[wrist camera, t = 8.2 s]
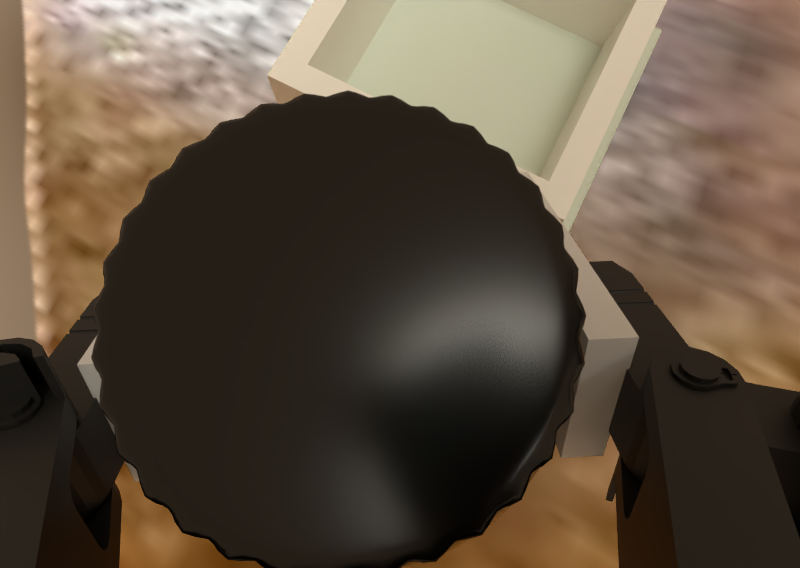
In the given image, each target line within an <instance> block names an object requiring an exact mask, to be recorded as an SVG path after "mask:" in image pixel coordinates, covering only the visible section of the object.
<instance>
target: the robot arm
mask: <svg viewBox="0 0 800 568" xmlns="http://www.w3.org/2000/svg"><path fill="white" fill-rule="evenodd" d="M519 173H520V174H522V175H524V176H525V177H527V178H528V179H530V180H531V181H533V182H534V180H533V179H532V177H531V176H530V174H529V173H528V172H519ZM534 183H535V182H534ZM535 184H536V183H535ZM541 194H542V192H541ZM542 197H543V203H544V206H545V208H546V209H547V210H548V211H549V212H550V213H551V214H552V215H553V216H554V217H555V218H556V219H557V220H558V221H559V222H560V223H561V224H562V226H563V232H564V247H565V249H566V251H567V252H568V253H569V255H570V256H571V257H572V259H573V260H574V262H575V263H576V265H577V267H578V268H579V272H578V284H577V291H576V293H577V295H578V297H579V298H580V300H581V302H582V305H583V307H584V310H585V313H586V319H585V323H584V327H583V329H582V330H581V334H580V338H579V339H580V343H581V346H582V350H583V355H584V361H585V365H584V367H583V369H582V371H581V373H580V375H579V376H578V378H577V380H576V381H575V383H574V384H573V393H574V412H573V413H572V415H571V416H570V417H569V418H568V420H567V421H566V422H565V423H564V424H562V425H561V426H560V428H559V429H558V430H557V434H556V442H555V443H556V446H557V448H558V451H559V454H560V456H561V458H569V457H587V456H603V454H604V451H605V448H606V445H607V441H608V438H609V435H611V437H612V439H613V441H614V443H615V445H616V447H617V449H618V451H619V453H620V455H619V458H618V461H617V464H616V467H615V470H614V473H613V476H612V479H611V482H610V485H609V488H608V492H607V497H606V500H608V501H613V499H614V496H615V493H616V512H617V533H618V555H619V568H800V392H797V391H791V390H785V389H780V388H774V387H768V386H762V385H757V384H752V383H748V382H745V381H744V379H743V378H742V376H741V375H740V373H739V371H738V370H736V369H735V368H734V367H733V366H731V365H730V364H729V363H728V362H727V361H725V360H724V359H722V358H720V357H717V356H715V355H713V354H711V353H709V352H707V351H703V350H699V349H695V348H692V347H689V346H688V345H687V344H686V342H685V341H684V340H683V338H682V337H681V336H680V335H679V333H678V332H677V331H676V329H675V328H674V327H673V326H672V324H671V323H670V322H669V320H668V319H667V318H666V317H665V315H664V314H663V313H662V311H661V310H660V309H659V308H658V306H657V305H654V301H653V300H652V299H651V297H650V296H649V295H648V293H647V292H644V288H643V287H642V286H641V284H640V283H639V282H638V281H637V279H636V278H635V277H634V276H633V274H632V273H630V272H629V271H627V270H626V269H624V268H622V267H621V266H619V265H618V264H616V263H615V262H613V261H599V262H588V260H587V259H586V258H585V256H584V255H583V253H582V252H581V250H580V249H579V247H578V246H577V244H576V243H575V241H574V240H573V238H572V237H571V235H570V234H569V232H568V231H567V229H566V228H565V226H564V225H563V223H562V222H561V220H560V219H559V217H558V216H557V214H556V213H555V211H554V210H553V208H552V207H551V205H550V204H549V203H548V201H547V200H546V198H545V197H544V195H543V194H542ZM97 298H98V297H96V298H95V299H93V300H92V302H91V303H90V304H89V306H88V307H87V308H86V310H85V311H84V312H83V314H82V315H81V316H80V320H77V321H76V323H75V324H74V325H73V327H72V328H71V329H70V330H69V331H70V334H66V336H65V337H64V338H63V340H62V341H61V342H60V344H59V345H58V346H57V347H56V349H55V350H54V351H53V353H52V354H51V355H50V357H49V358H48V356H47V354H46V353H45V351H44V349H43V347H42V346H41V345H40V344H39V343H37V342H36V341H34V340H31V339H24V338H12V339H5V340H0V568H119V556H120V533H121V509H122V500H121V496H120V491H119V489H118V487H117V485H116V484H115V480H116V478H117V476H118V473H119V471H120V469H121V467H122V465H123V463H124V461H125V460H124V459H122V458H121V457H120V456H119V455H118V454H117V448H116V442H115V429H114V425H113V424H112V423H111V422H110V421H109V419H108V418H107V417H106V416H105V414H104V413H103V411H102V410H101V408H100V407H99V400H100V387H101V377H100V375H99V373H98V371H97V370H96V369H95V366H94V364H93V361H92V359H91V356H92V351H93V347H94V344H95V340H96V337H97V334H98V329H97V324H96V322H95V319H94V314H93V307H94V305H95V303H96V300H97ZM125 462H126V461H125ZM126 464H127V466H128V468H129V470H130V472H131V474H132V476H133V478H134V480H135V481H139V477H138V473H137V470H136V469H135V468H134V467H133V466H132V465H130V464H129V463H127V462H126Z"/></svg>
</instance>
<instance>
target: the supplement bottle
mask: <svg viewBox="0 0 800 568" xmlns="http://www.w3.org/2000/svg"><path fill="white" fill-rule="evenodd" d="M578 272H579V268H578V267H577V265H576V263H575V262H574V260H573V259H572V257H571V256H570V255H569V253H568V252H567V251H566V249H565V247H564V232H563V226H562V224H561V223H560V222H559V221H558V220H557V219H556V218H555V217H554V216H553V215H552V214H551V213H550V212H549V211H548V210H547V209H546V208H545V206H544V203H543V197H542V194H541V191H540V188H539V186H538V185H536V184H535V183H534V182H533V181H531V180H530V179H528V178H527V177H525V176H524V175H522V174H520V173H519V171H518V170H517V168H516V165H515V162H514V160H513V159H512V157H511V155H510V154H509V153H508V152H506V151H504V150H503V149H501V148H498V147H496V146H493V145H491V144H488V143H487V142H486V140H485V139H484V138H483V136H482V135H481V134H480V132H479V131H478V130H477V129H476V128H475V127H474V126H471V125H468V124H464V123H456V122H453V121H450V120H449V119H448V118H447V117H446V116H445V115H444V114H443V113H442V112H440V111H439V110H437V109H436V108H435V107H429V106H411V105H409V104H407V103H406V102H404V101H403V100H401V99H399V98H397V97H395V96H393V95H385V96H378V97H370V98H369V97H366V96H364V95H361V94H359V93H356V92H352V91H349V90H348V91H344V92H340V93H336V94H333V95H330V96H327V97H324V96H320V95H314V94H305V93H304V94H302V95H300V96H297V97H295V98H293V99H292V100H291V101H288V102H286V103H284V104H273V103H272V104H261V105H259V106H258V107H256V108H255V109H253V110H252V111H251V112H250V113H248V114H247V115H246V116H245V117H243V118H240V119H234V120H229V121H225V122H221V123H219V124H218V125H217V126H216V127H215V128H214V129H213V130H212V132H211V133H210V135H209V136H208V137H207V138H206V139H205V140H202V141H199V142H196V143H194V144H191V145H189V146H187V147H185V148H183V149H182V150H181V151H180V153H179V154H178V156H177V157H176V160H175V162H174V163H173V165H172V166H171V168H169V169H168V170H166V171H164V172H162V173H161V174H159V175H158V176H156V177H155V178H153V179H152V180H150V182H149V184H148V186H147V188H146V191H145V195H144V198H143V200H142V202H141V203H140V204H139V205H138V206H137V207H135V208H134V209H133V210H132V211H131V212H130V213H129V214H128V215H127V216H126V217H125V218H124V219H123V221H122V226H121V230H120V238H119V243H118V244H117V245H116V246H115V247H114V249H113V250H112V251H111V252H110V254H109V255H108V257H107V258H106V259H105V261H104V265H103V275H104V287H103V289H102V291H101V293H100V294H99V296H98V298H97V300H96V303H95V305H94V307H93V314H94V319H95V322H96V324H97V329H98V334H97V337H96V340H95V344H94V347H93V351H92V356H91V359H92V361H93V364H94V366H95V369H96V370H97V371H98V373H99V375H100V377H101V387H100V400H99V407H100V408H101V410H102V411H103V413H104V414H105V416H106V417H107V418H108V419H109V421H110V422H111V423H112V424H113V425H114V429H115V442H116V448H117V454H118V455H119V456H120V457H121V458H122V459H124V460H125V461H126V462H127V463H129V464H130V465H132V466H133V467H134V468H135V469H136V470H137V473H138V477H139V481H140V485H141V487H142V490H143V493H144V495H145V497H147V498H148V499H150V500H151V501H153V502H155V503H157V504H160V505H163V506H165V507H166V508H168V509H169V511H170V512H171V514H172V516H173V518H174V521H175V523H176V524H177V526H178V527H179V529H180V530H181V531H182V533H185V534H188V535H191V536H194V537H199V538H205V539H209V540H210V541H211V542H212V543H213V544H214V545H215V547H216V549H217V550H218V551H219V552H220V553H221V554H222V555H223V556H224V557H225V558H226V559H227V560H236V561H256V562H257V563H259V564H260V565H261V566H262V567H264V568H401V567H403V566H407V565H411V564H415V563H419V562H421V563H425V562H436V561H437V560H438V559H439V558H440V557H441V556H442V555H443V554H444V553H446V552H447V551H449V550H451V549H453V548H455V547H457V546H459V545H461V544H463V543H464V542H466V541H467V540H469V539H471V538H474V537H477V536H480V535H482V534H483V533H484V532H485V530H486V529H487V527H488V526H489V525H490V524H491V523H492V522H494V521H495V520H496V519H497V518H499V517H500V516H501V515H502V514H503V513H504V512H505V511H506V510H507V509H508V508H509V507H510V506H511V505H513V504H514V503H516V502H518V501H520V500H522V497H523V495H524V493H525V490H526V488H527V486H528V484H529V483H530V481H531V480H532V478H533V477H534V475H535V474H536V472H537V471H538V469H539V468H540V467H542V466H543V465H545V464H546V463H547V462H548V461H549V460H550V459H552V457H553V452H554V448H555V442H556V434H557V430H558V429H559V428H560V426H561V425H562V424H564V423H565V422H566V421H567V420H568V418H569V417H570V416H571V415H572V413H573V412H574V393H573V384H574V383H575V381H576V380H577V378H578V376H579V375H580V373H581V371H582V369H583V367H584V365H585V361H584V355H583V350H582V346H581V343H580V339H579V338H580V334H581V330H582V329H583V327H584V323H585V319H586V313H585V310H584V307H583V305H582V302H581V300H580V298H579V297H578V295H577V293H576V291H577V284H578Z"/></svg>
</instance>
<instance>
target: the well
mask: <svg viewBox="0 0 800 568" xmlns="http://www.w3.org/2000/svg"><path fill="white" fill-rule="evenodd" d="M666 2H667V0H315V1H314V3H313V4H312V6H311V7H310V9H309V10H308V12H307V14H306V15H305V17H304V18H303V20H302V21H301V23H300V25H299V26H298V28H297V29H296V31H295V32H294V34H293V36H292V37H291V39H290V40H289V42H288V43H287V45H286V47H285V48H284V50H283V51H282V53H281V54H280V56H279V58H278V59H277V61H276V62H275V64H274V65H273V67H272V69H271V70H270V72H269V73H268V75H267V76H268V78H269V81H270V84H271V87H272V89H273V92H274V95H275V97H276V100H277V103H278V104H284V103H286V102H288V101H291V100H292V99H293V98H295V97H297V96H300V95H302V94H304V93H305V94H314V95H320V96H324V97H327V96H330V95H333V94H336V93H340V92H344V91H348V90H349V91H352V92H356V93H359V94H361V95H364V96H366V97H369V98H370V97H378V96H385V95H393V96H395V97H397V98H399V99H401V100H403V101H404V102H406V103H407V104H409V105H411V106H429V107H435V108H436V109H437V110H439V111H440V112H442V113H443V114H444V115H445V116H446V117H447V118H448V119H449V120H450V121H453V122H456V123H464V124H468V125H471V126H474V127H475V128H476V129H477V130H478V131H479V132H480V134H481V135H482V136H483V138H484V139H485V140H486V142H487V143H488V144H491V145H493V146H496V147H498V148H501V149H503V150H504V151H506V152H508V153H509V154H510V155H511V157H512V159H513V160H514V162H515V165H516V168H517V170H518V171H519V172H528V173H529V174H530V176H531V177H532V179H533V180H534V182H535V183H536V185H538V186H539V188H540V191H541V192H542V194H543V195H544V197H545V198H546V200H547V201H548V203H549V204H550V205H551V207H552V208H553V210H554V211H555V213H556V214H557V216H558V217H559V219H560V220H561V222H562V223H563V225H564V226H565V228H566V229H567V231H568V232H569V231H570V229H571V227H572V224H573V222H574V220H575V218H576V216H577V214H578V211H579V209H580V207H581V205H582V203H583V201H584V198H585V196H586V194H587V192H588V190H589V188H590V185H591V183H592V181H593V179H594V177H595V175H596V172H597V170H598V168H599V166H600V164H601V162H602V159H603V157H604V155H605V153H606V151H607V149H608V147H609V144H610V142H611V140H612V138H613V136H614V134H615V131H616V129H617V127H618V125H619V123H620V121H621V118H622V116H623V114H624V112H625V110H626V108H627V105H628V103H629V101H630V99H631V97H632V95H633V92H634V90H635V88H636V86H637V84H638V82H639V79H640V77H641V75H642V73H643V71H644V69H645V67H646V64H647V62H648V60H649V58H650V56H651V54H652V51H653V49H654V47H655V45H656V43H657V41H658V38H659V36H660V34H661V32H662V30H660V29H658V28H656V27H655V25H656V23H657V21H658V19H659V17H660V15H661V13H662V10H663V8H664V6H665V4H666Z"/></svg>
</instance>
